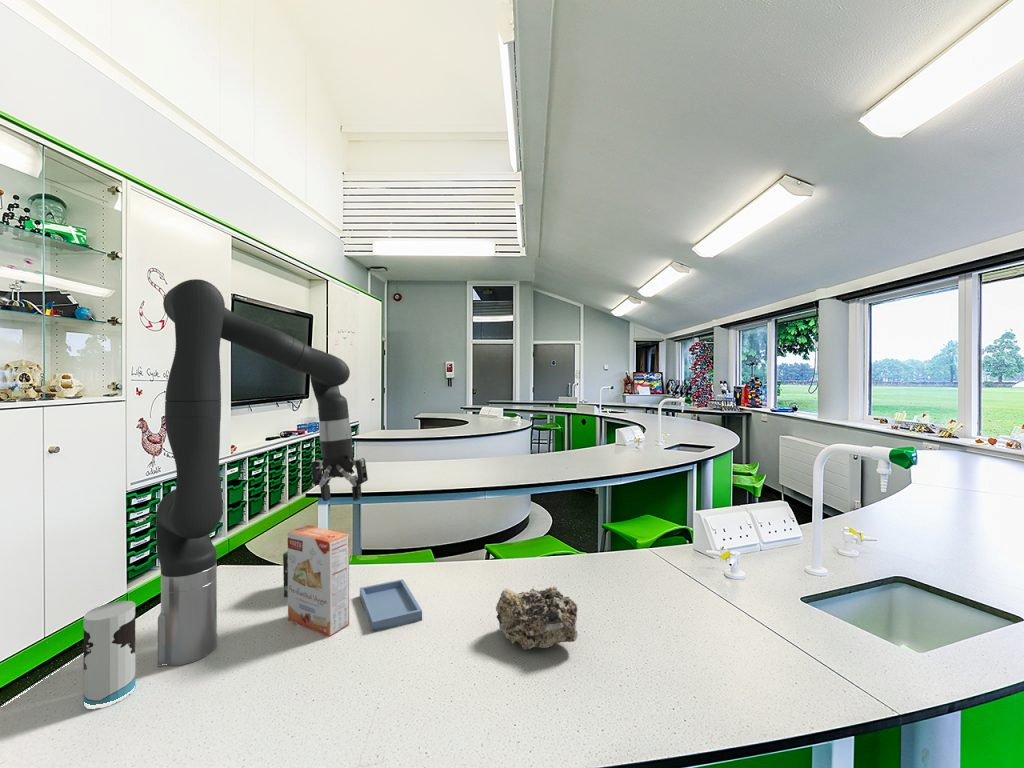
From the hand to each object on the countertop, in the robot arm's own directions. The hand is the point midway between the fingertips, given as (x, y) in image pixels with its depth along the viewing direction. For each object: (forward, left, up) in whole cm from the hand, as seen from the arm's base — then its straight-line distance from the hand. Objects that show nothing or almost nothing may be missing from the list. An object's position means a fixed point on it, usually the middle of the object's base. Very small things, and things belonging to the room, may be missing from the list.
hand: (341, 500), depth 114 cm
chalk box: (-7, +8, -25) cm, 28 cm away
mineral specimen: (+36, -38, -25) cm, 58 cm away
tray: (+10, -11, -25) cm, 29 cm away
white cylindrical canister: (-40, -20, -25) cm, 51 cm away
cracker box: (-6, -11, -25) cm, 28 cm away
